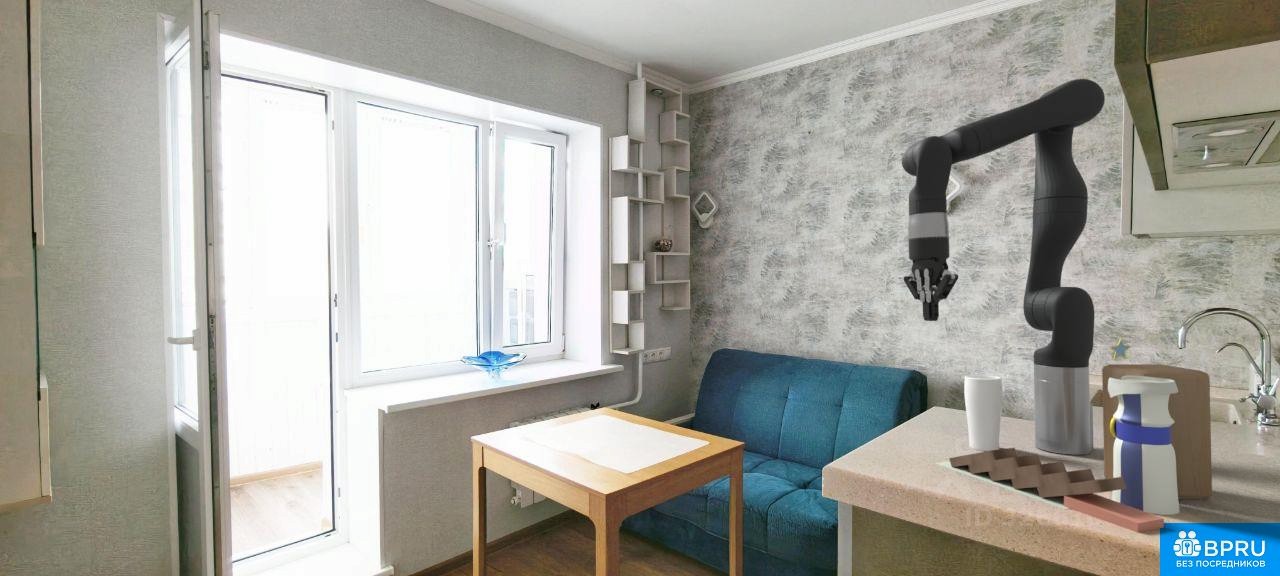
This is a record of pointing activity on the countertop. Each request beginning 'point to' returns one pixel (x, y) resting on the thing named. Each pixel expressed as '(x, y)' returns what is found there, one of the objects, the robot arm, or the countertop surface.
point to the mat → (1008, 485)
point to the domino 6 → (1113, 512)
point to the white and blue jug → (1143, 442)
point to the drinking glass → (983, 410)
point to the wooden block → (1185, 432)
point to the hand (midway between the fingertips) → (930, 320)
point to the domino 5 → (1083, 487)
